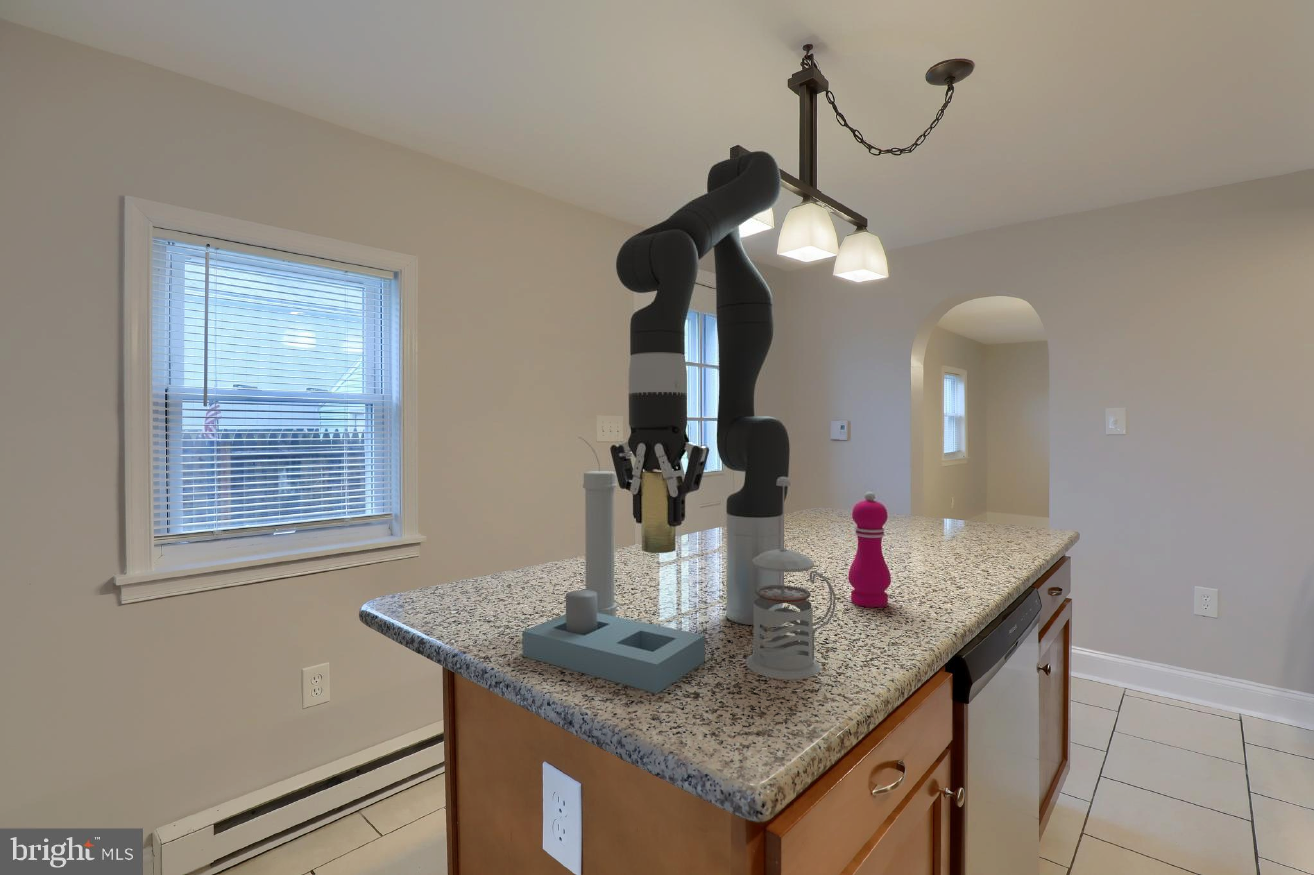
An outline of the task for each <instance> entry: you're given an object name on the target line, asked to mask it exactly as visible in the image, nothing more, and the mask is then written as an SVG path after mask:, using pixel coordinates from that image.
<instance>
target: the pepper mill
mask: <svg viewBox="0 0 1314 875" xmlns="http://www.w3.org/2000/svg"><path fill="white" fill-rule="evenodd" d="M875 499H876V496H875V493H874V492H872V491H867V492H866V493H864V500H860V501H858V502H857V503H856V504H855V505H854V507H853V509H852V514H851V516H852V520H853V521H854V523H855V524H856V526H855V527H854V531H855V532H854V535H855V536H857V550H856V552H855V556H854V558H853V561H852V562H851V565H850V566H849V567H850V568H849V570H848V577H847V578H848V579H847V580H848V582H849V585H850V586H852V587H853V590H851V592H850V602H851V603H852V602H853V603H852V604H854V605H856V604H857V605H856V606H858V607H859V606H860V607H863V606H865V608H872V607H879V608H884V607H883V606H885V607H887V606H888V605H889V596H888V593H887V592H885V591H886V590H887V589H888V588H889V587H890V586H891V582H892V578H891V573H890V569H889V567H888V565H887V562H886V561H885V558H884V554H883V550H882V549H883V548H882V547H883V546H882V541H883V537H885V528H884V527H883V526H884V525H885V524H886V522H887V521H888V510H887V508H886V506H885V505H884V504H882V503H881V502H879V501H877V500H875ZM887 604H888V605H887Z"/></svg>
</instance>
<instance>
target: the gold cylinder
mask: <svg viewBox="0 0 1314 875" xmlns="http://www.w3.org/2000/svg"><path fill="white" fill-rule="evenodd" d="M669 497H672V496H671V495H670V493H669V489H668V485H667V481H666V480H665V479H664V478H663V474H662V471H659V470H655V471H644V472H641V521H642V524H641V551H642V552H646V553H649V554H666V553H672V552H675V551H676V550H677V548H676V547H677V544H676V543H677V537H676V536H677V535H676V534H677V530H676V529H677V526H676V527H674V526H669Z"/></svg>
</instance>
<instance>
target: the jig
mask: <svg viewBox="0 0 1314 875" xmlns="http://www.w3.org/2000/svg"><path fill="white" fill-rule="evenodd" d="M522 657H524V658H527V657H528V659H532V660H534V659H535V660H534V661H538V662H542V663H546V664H549V665H552V666H556V667H561V668H563V669H568V670H570V671H575V672H577V673H582V674H585V675H589V676H592V677H595V678H599V679H603V680H606V681H610V682H613V683H618V684H621V685H625V686H628V687H631V688H635V689H638V690H642V691H646V692H650V693H654V694H657V695H658V694H659V693H661V692H662V691H664V690H665V689H667V688H668V687H669V686H671V685H672V684H674V683H675V682H677V681H678V680H680V679H681V678H683V677H684V676H685V675H687V674H689V673H690V672H691V671H693V670H695V668H697V667H698V666H700V665H702V664H703V663H704V662H706V634H701V633H695V632H692V631H686V630H683V629H676V628H673V627H667V626H662V625H659V624H658V625H657V624H653V623H648V622H644V621H640V620H639V621H638V620H634V619H629V618H624V617H619V616H616V617H615V616H610V615H605V614H600V613H597V593H596V592H594V591H590V590H586V589H576V590H572V591H569V592H566V593H565V614H563V615H559V616H558V617H555V618H552V619H549V620H548V621H545V622H542V623H538V624H537V625H535V626H532V627H529V628H527V629H524V630H522Z"/></svg>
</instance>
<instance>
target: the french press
mask: <svg viewBox="0 0 1314 875" xmlns="http://www.w3.org/2000/svg"><path fill="white" fill-rule="evenodd" d="M776 485H777V486H782V487H783V548H781V549H777V550H770V551H767V552H764V553H761V554H760V555H758V556H757V557H755V558H754V559H753V561H752V562H753V564H754V565H755V566H756V567H757V568H760V569H764V570H769V571H775V572H782V586H781V585H776V586H775V585H770V586H769V585H768V586H767V585H766V587H765V586H763V587H759V588H758V589H757V590H756V594H757V595H758V596H759V598H757V599H756V600H754V625H753V653H752V654H750V655H749V656H748V657H746V660H745V665H746V667H747V668H748V669H749V671H751V672H754V673H755V674H758V675H760V676H764V677H768V678H771V679H776V680H777V679H778V680H787V681H789V680H790V681H792V680H804V679H808V678H811V677H814V676H816V675H817V674H819V673H820V672H821V664H820V663H819V662H818V661H817V660H816V659H815V632H816V631H817V630H819V629H821V628H823V627H825V626H826V625H827V624H828V623H829V622H830V621H831V619H832V618H833V616H834V615H835V611H836V593H835V590H834V588H833V586H832V584H831V582H830V581H829V580H828V579H827V578H825V576H824V575H822V574H821V573H819V572H818V571H816V570H812V569H813V568H814V566H815V561H814V560H812V559H811V558H810V557H808V556H807V555H806V554H803V553H800V552H797V551H796V550H792V549H787V548H785V502H784V487H785V486H788V487H790V486H791V480H790V479H789V477H788V478H787V477H779V478H778V479H777V484H776ZM805 571H810V572H809V581H810V583H811V584H815V579H816V578H815V577H818V578H821V579H823V580H824V581H825V583H826V585H827V588H828V591H829V600H830V601H829V602H830V603H829V605H828V609H827V611H826V613H825V615H824V616H823V617H821V619H820V620H818V621H815V622H814V621H813V620H814V617H813V616H814V615H813V613H814V612H813V610H814V606H813V605H812V602H810V601H809V600H808V599H810V598H811V592H810V591H809V590H808V589H806V588H803V587H799V586H795V585H794V586H792V585H788V584H787V585H785V573H799V572H800V573H801V572H805ZM782 603H783V604H788V605H791V606H795V608H796V609H798V610H799V611H797V610H794V609H792V608H788V607H783V608H779V609H776V610H774V611H771V610H768V609H770V608H771V607H773V606H774V605H776V604H782ZM831 608H832V611H831ZM830 611H831V613H830ZM829 613H830V616H829V618H828V615H829ZM826 618H828V619H827V620H826V621H825V622H824V623H823V624H821V625H819V626H816V625H818V624H820V623H822V622H823V621H824V620H825V619H826ZM787 623H789V624H792V626H791V625H790V626H787V625H783V624H787ZM760 624H762V625H760ZM781 625H782V626H781ZM815 626H816V627H815ZM770 628H772V629H771V630H769V631H765V630H767V629H770ZM788 633H791V634H794V635H791V636H790V635H787V634H788ZM767 638H770V640H767V641H765V639H767Z"/></svg>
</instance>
